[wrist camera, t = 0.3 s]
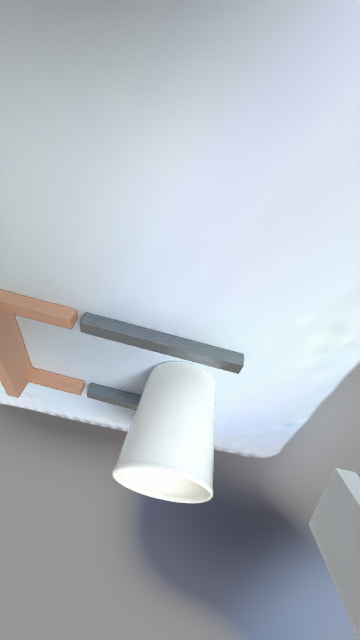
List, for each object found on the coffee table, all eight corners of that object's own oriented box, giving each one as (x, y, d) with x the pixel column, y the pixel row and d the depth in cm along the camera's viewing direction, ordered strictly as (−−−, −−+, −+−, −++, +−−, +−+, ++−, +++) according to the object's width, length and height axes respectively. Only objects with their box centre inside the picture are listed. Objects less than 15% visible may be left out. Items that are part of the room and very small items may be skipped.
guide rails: (85, 312, 30) (79, 322, 29) (243, 354, 30) (243, 365, 29) (91, 388, 41) (87, 397, 40) (205, 417, 41) (204, 427, 40)
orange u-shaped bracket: (-8, 287, 29) (-35, 313, 27) (76, 309, 30) (58, 338, 27) (24, 370, 41) (7, 394, 38) (84, 386, 41) (72, 411, 38)
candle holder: (165, 403, 41) (142, 499, 32) (130, 361, 35) (91, 465, 26) (232, 399, 37) (226, 507, 28) (205, 351, 31) (188, 470, 22)
